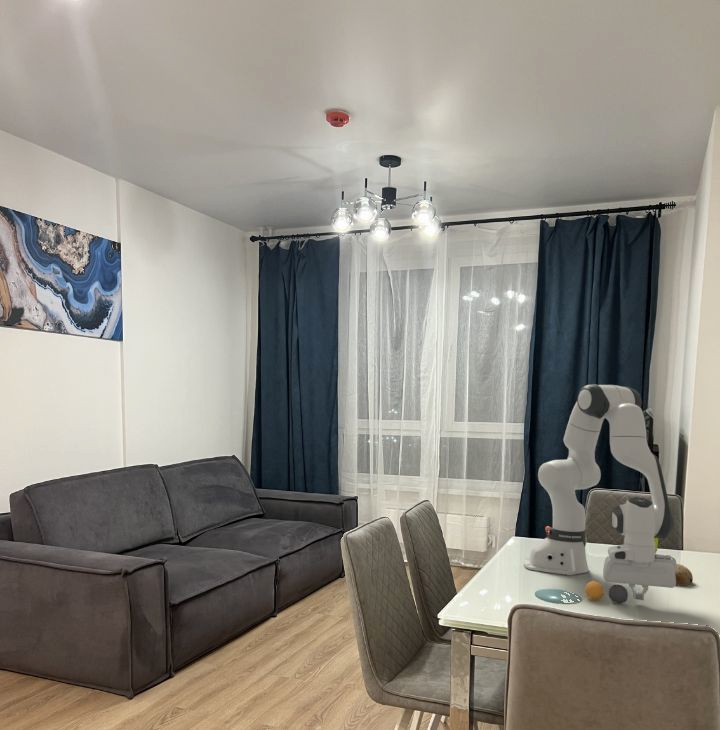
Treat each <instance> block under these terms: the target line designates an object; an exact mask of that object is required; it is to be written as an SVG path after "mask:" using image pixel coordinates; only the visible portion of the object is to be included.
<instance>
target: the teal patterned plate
mask: <svg viewBox="0 0 720 730" xmlns="http://www.w3.org/2000/svg"><path fill="white" fill-rule="evenodd" d="M567 591H568V590H565V591H564V589H558V588H544V589H537V590H535V592H534V596H535V597H536V598H538V599H540V600H541V601H545V602H549V603H553V604H559V603H564V602H563V601H561V600H563V599H565V600H566V599H567V600H568V602H570V601H569V600H570V599H571V600H572V601H574V602H578V603H580V602H581V600H583V598H582V596H581V595H579V594H578V593H575V592H573V591H570V592H572V593H574V594H572V593H570V592H567ZM564 592H567V593H569V594H570V596H569V595H568V594H566V593H564ZM561 594H562V595H565V596H566V598H563V597H562V596H561ZM575 595H576V596H578V597H576V596H575ZM577 599H579V600H580V602H579V601H578V600H577Z"/></svg>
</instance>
